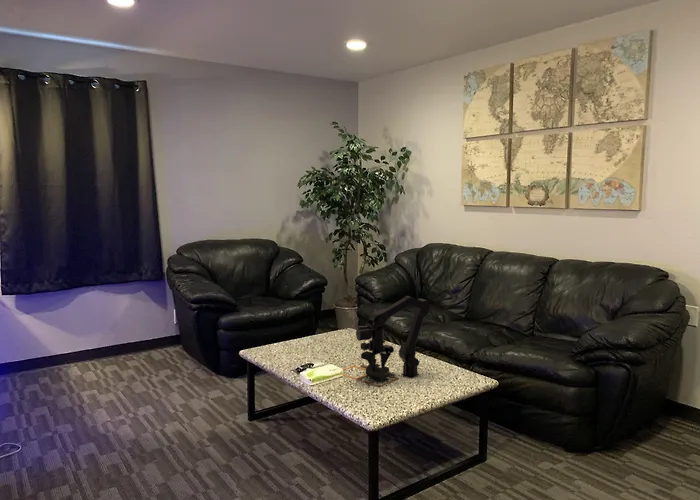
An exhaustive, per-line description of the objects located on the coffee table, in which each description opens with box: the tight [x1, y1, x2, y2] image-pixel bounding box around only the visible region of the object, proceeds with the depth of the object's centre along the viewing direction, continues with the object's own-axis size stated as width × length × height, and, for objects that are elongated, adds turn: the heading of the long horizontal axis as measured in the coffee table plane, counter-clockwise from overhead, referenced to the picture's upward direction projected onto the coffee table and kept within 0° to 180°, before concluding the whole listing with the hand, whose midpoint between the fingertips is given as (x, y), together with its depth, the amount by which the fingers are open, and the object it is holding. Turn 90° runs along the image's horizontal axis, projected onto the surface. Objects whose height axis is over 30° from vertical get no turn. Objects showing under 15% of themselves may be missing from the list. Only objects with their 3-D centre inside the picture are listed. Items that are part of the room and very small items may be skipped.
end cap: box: [365, 363, 390, 383], centre depth 256 cm, size 10×7×7 cm
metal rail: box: [360, 363, 397, 377], centre depth 267 cm, size 22×2×1 cm, turn 47°
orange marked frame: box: [341, 365, 366, 381], centre depth 266 cm, size 15×15×1 cm
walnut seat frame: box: [356, 374, 400, 388], centre depth 256 cm, size 15×15×1 cm
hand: (377, 369), depth 255 cm, fingers open, 7 cm apart
